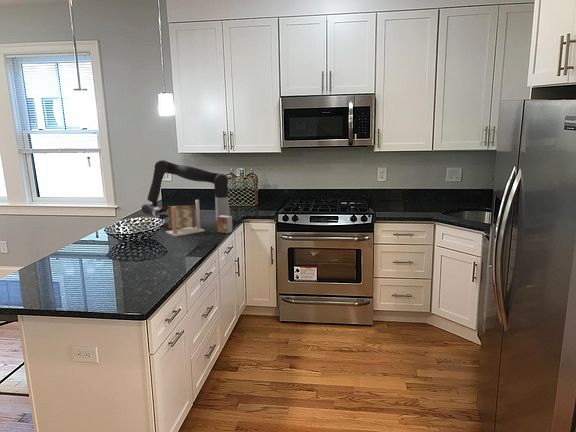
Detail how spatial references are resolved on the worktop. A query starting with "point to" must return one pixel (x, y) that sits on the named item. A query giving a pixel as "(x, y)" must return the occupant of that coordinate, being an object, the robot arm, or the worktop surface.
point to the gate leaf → (182, 216)
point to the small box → (224, 224)
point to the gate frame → (185, 231)
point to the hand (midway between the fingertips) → (172, 216)
